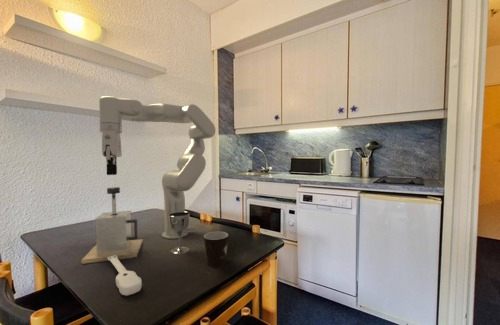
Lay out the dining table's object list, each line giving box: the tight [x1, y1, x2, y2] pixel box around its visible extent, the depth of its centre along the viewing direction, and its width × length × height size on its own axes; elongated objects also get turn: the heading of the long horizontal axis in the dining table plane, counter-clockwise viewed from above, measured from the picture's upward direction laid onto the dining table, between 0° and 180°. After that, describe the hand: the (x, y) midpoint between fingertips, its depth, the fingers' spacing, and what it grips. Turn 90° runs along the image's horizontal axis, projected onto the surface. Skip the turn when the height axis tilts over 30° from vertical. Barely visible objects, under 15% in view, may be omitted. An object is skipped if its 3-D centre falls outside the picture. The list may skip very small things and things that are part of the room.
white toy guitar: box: [107, 255, 143, 297], centre depth 74 cm, size 28×6×3 cm, turn 42°
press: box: [81, 210, 144, 265], centre depth 94 cm, size 18×16×15 cm
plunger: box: [106, 186, 121, 215], centre depth 94 cm, size 8×8×16 cm
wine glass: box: [169, 211, 191, 255], centre depth 95 cm, size 8×8×15 cm
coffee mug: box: [203, 230, 229, 268], centre depth 82 cm, size 12×9×10 cm
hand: (111, 174), depth 93 cm, fingers closed
